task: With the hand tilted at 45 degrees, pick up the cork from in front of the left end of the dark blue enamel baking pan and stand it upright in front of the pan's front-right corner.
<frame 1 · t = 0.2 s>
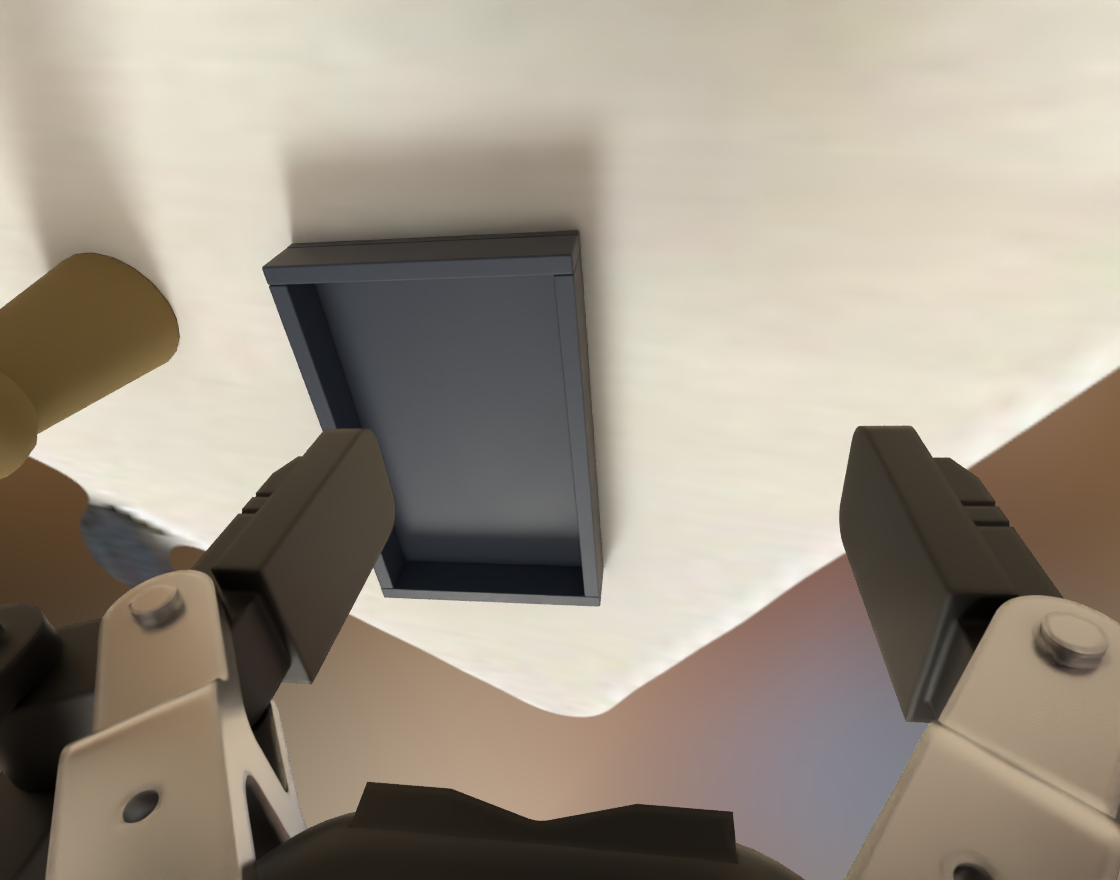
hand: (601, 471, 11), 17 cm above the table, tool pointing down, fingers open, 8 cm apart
pan: (470, 431, 33), on the table
cork: (120, 311, 31), on the table
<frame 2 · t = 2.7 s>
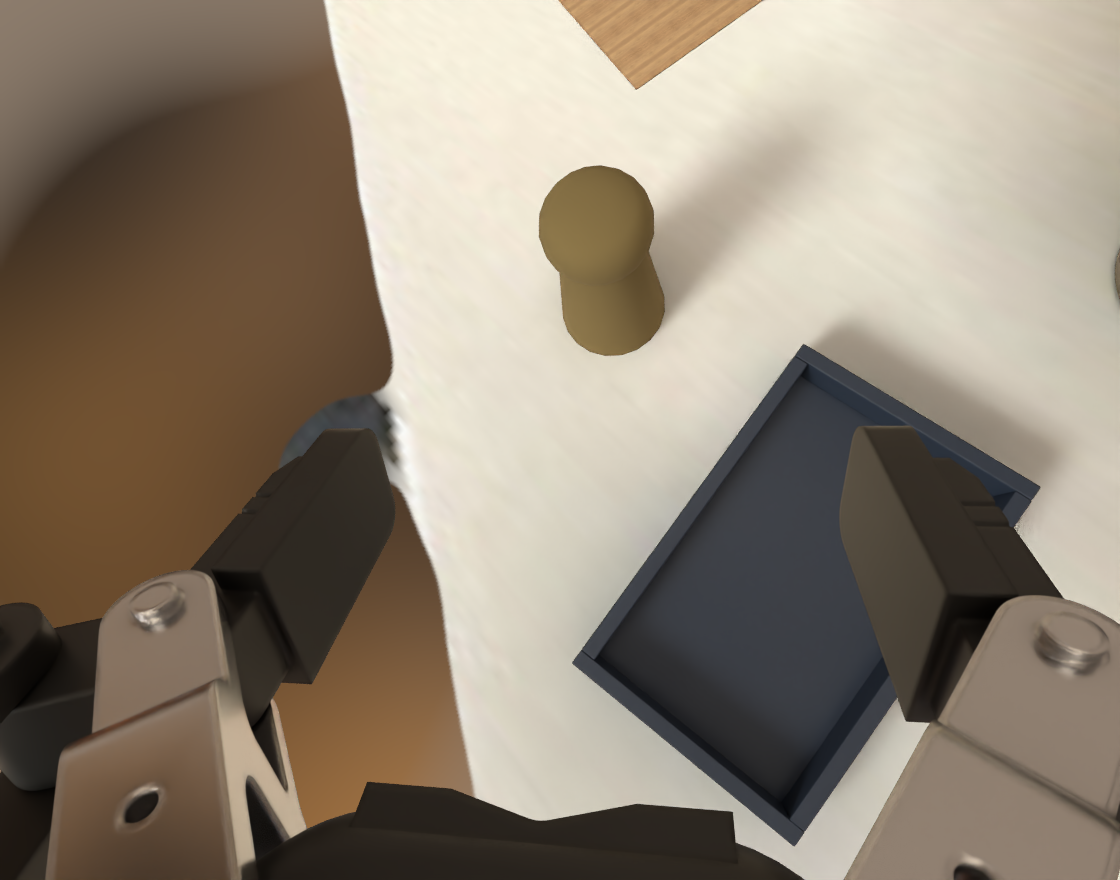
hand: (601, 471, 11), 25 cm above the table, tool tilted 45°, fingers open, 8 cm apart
pan: (789, 577, 34), on the table
cork: (613, 308, 38), on the table
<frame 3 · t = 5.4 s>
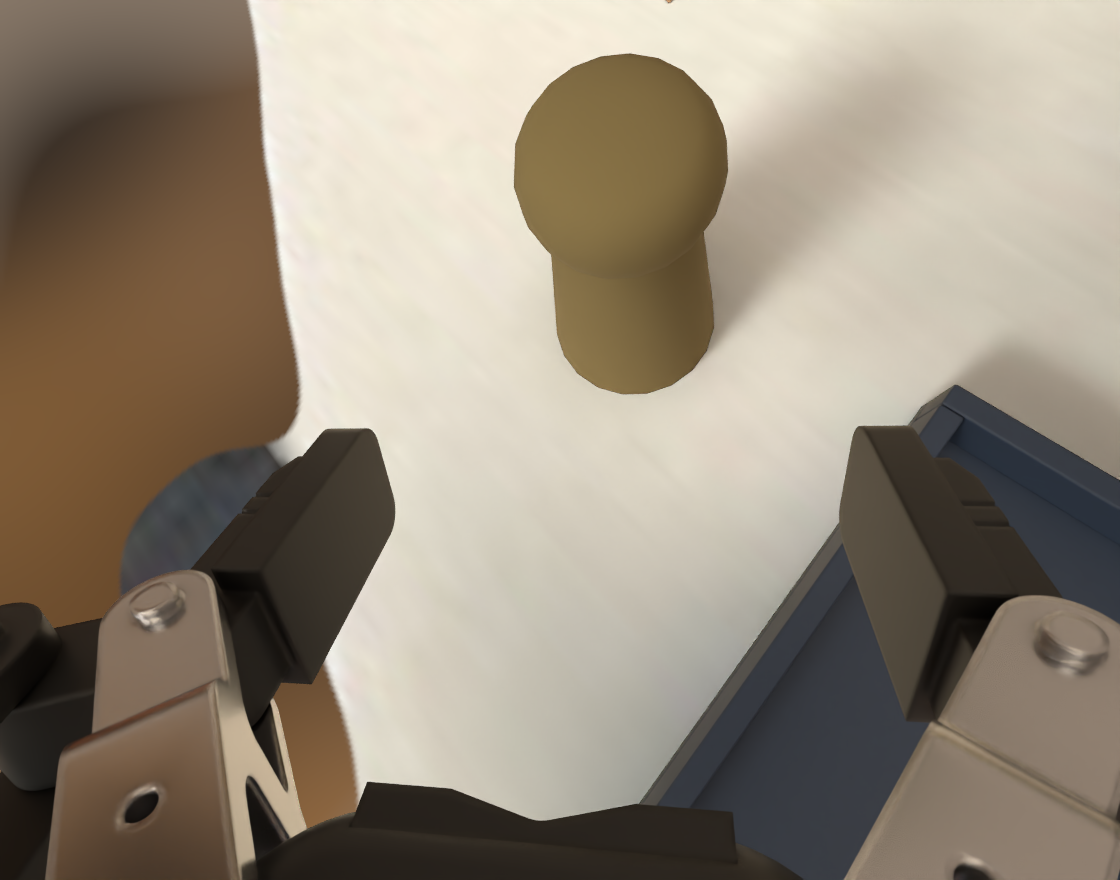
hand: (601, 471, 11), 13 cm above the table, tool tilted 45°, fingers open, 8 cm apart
pan: (928, 771, 20), on the table
cork: (634, 321, 25), on the table
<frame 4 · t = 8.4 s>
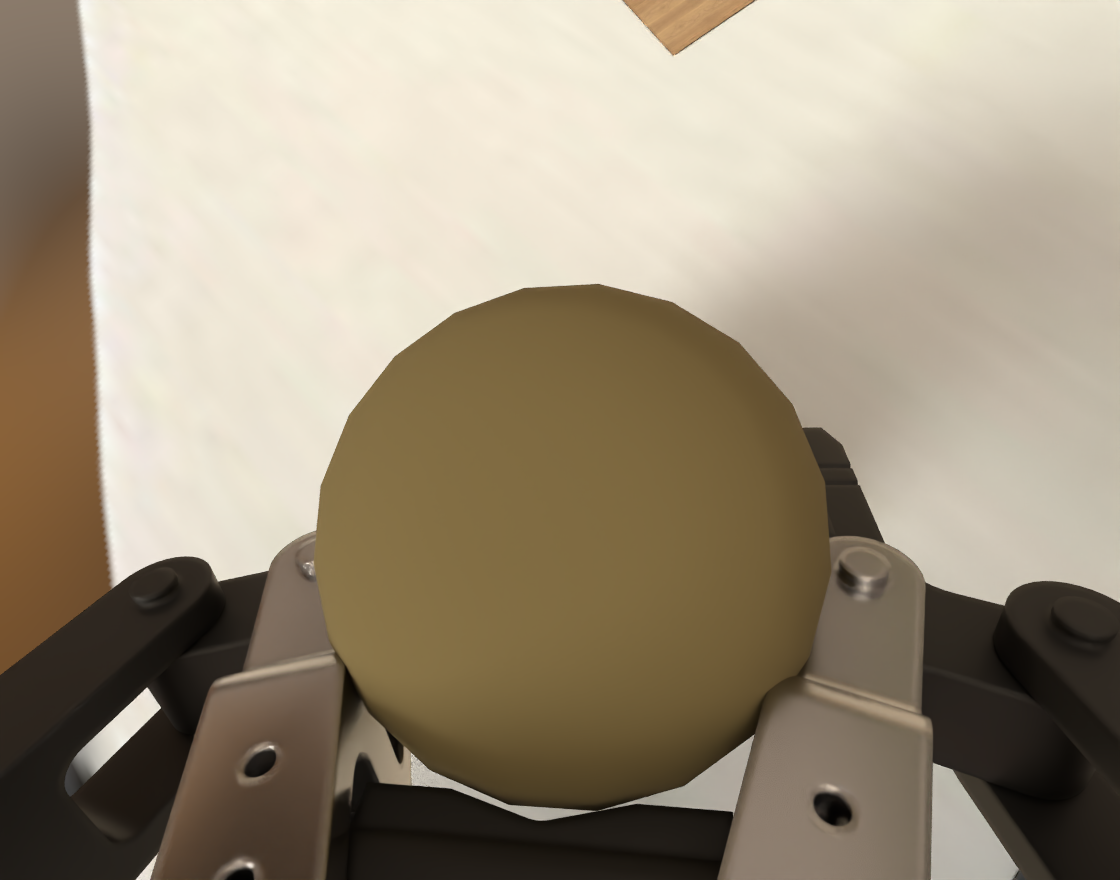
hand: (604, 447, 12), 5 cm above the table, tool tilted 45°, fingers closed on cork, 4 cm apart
cork: (621, 561, 16), on the table, touching gripper
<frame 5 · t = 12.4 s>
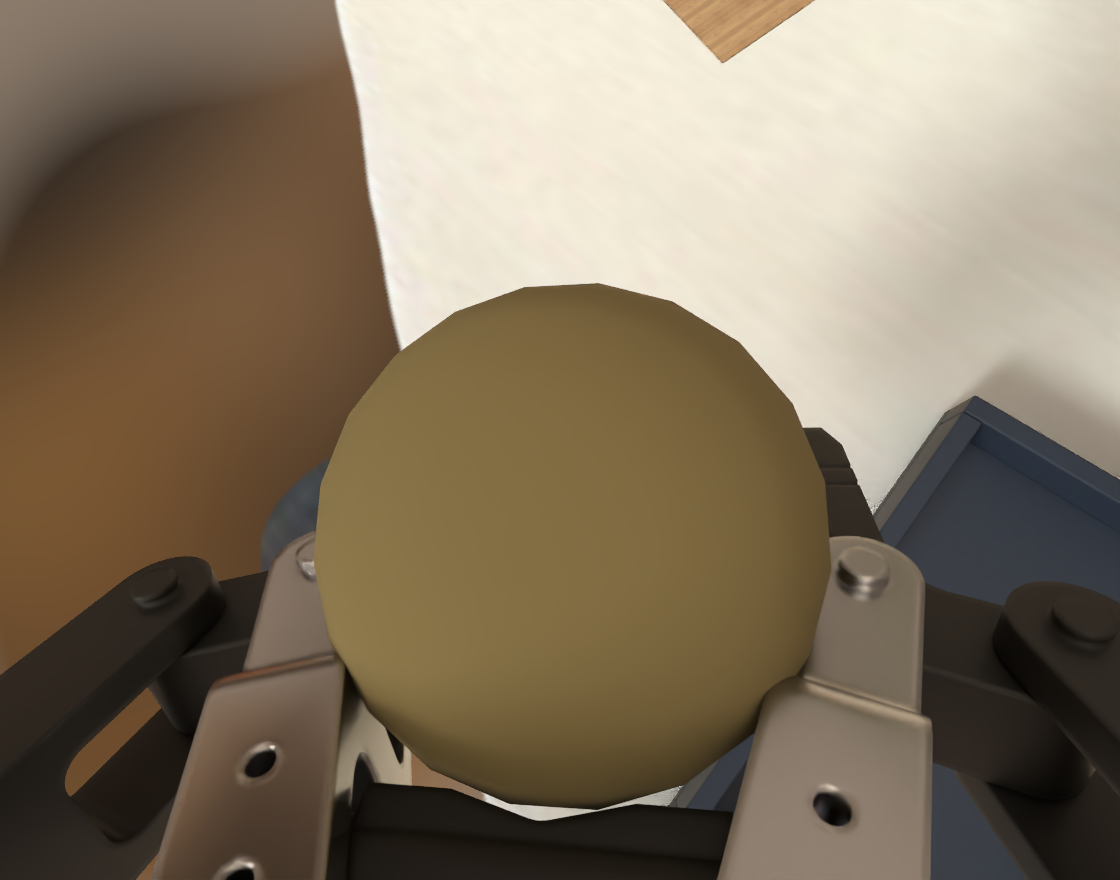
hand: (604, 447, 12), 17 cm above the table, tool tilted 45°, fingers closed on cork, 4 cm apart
pan: (953, 710, 25), on the table
cork: (619, 560, 16), point 12 cm above the table, touching gripper
when the fingers open (5 cm above the table, at t = 16.4 s): cork stays where it is, on the table.
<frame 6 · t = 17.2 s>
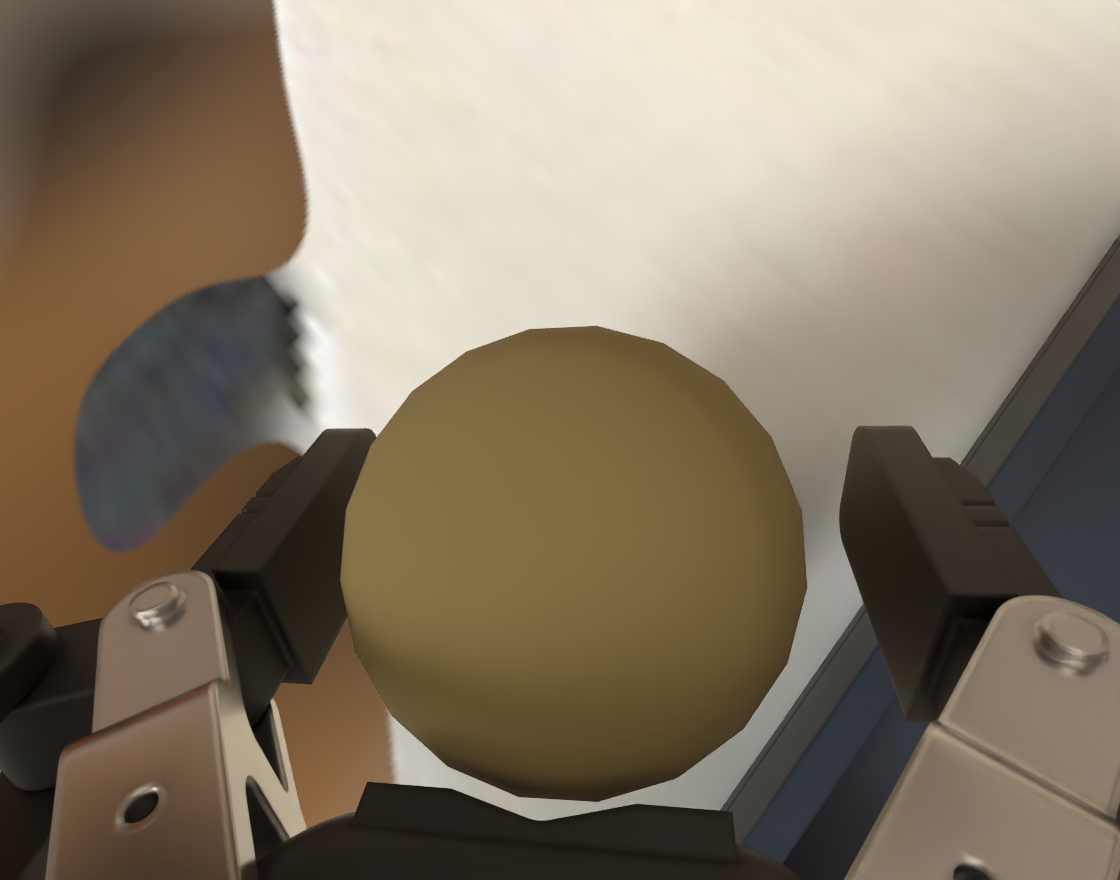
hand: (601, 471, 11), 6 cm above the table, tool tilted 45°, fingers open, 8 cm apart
cork: (619, 568, 17), on the table
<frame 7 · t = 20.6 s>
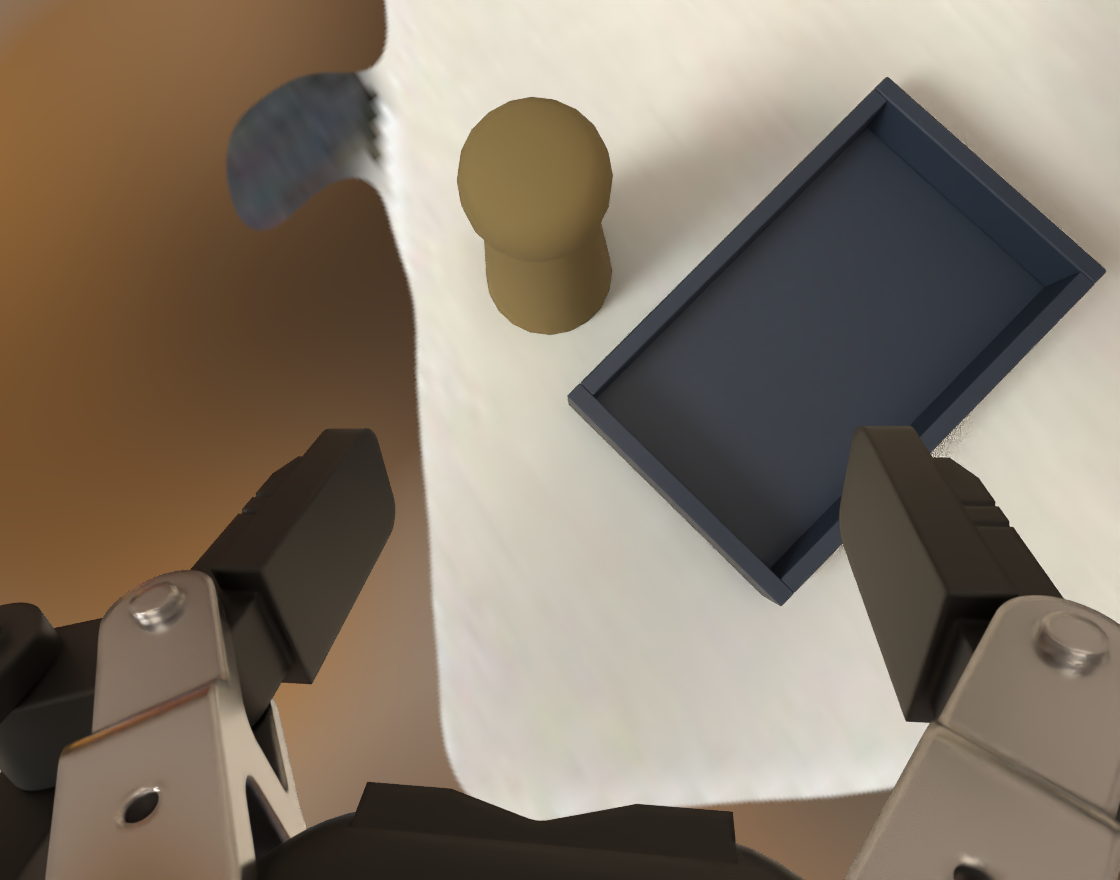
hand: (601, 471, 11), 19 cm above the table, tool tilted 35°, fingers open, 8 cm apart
pan: (813, 347, 30), on the table
cork: (549, 274, 31), on the table
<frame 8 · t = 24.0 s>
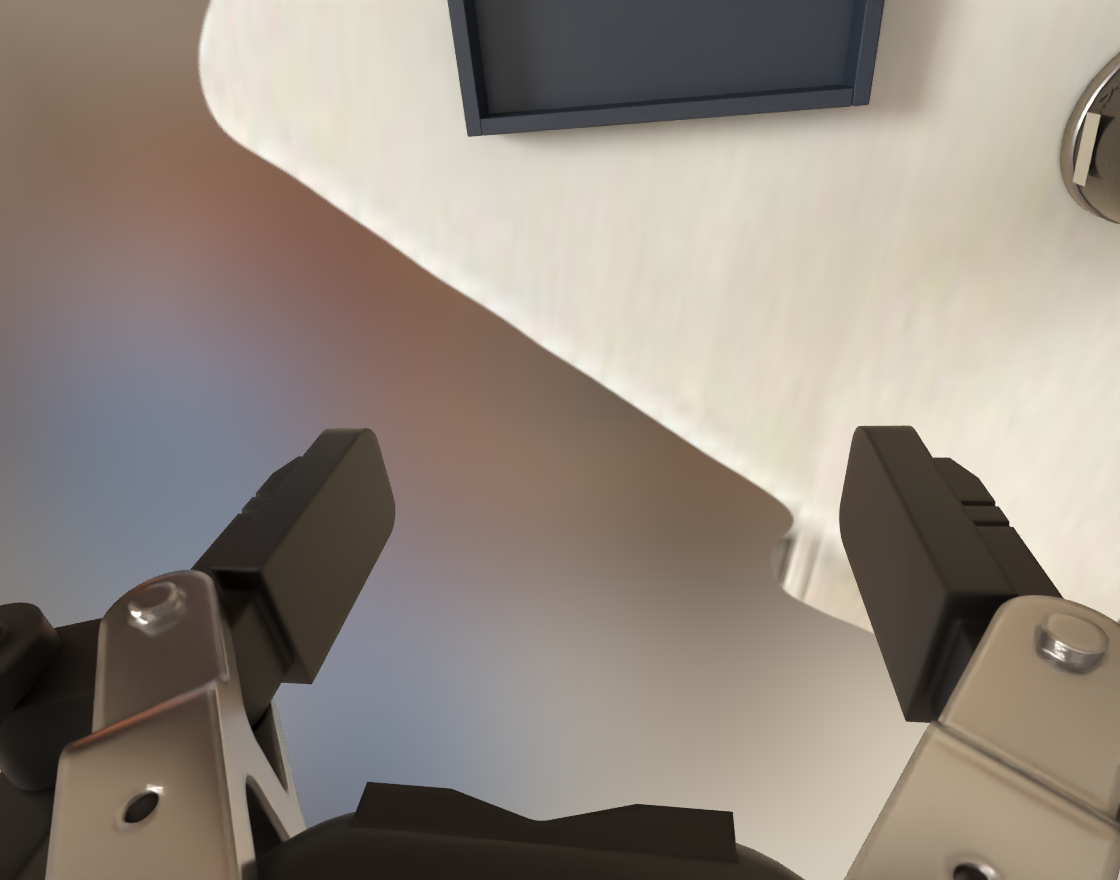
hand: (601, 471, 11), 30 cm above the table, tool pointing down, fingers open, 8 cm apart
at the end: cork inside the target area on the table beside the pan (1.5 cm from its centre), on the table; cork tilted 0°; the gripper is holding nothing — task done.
